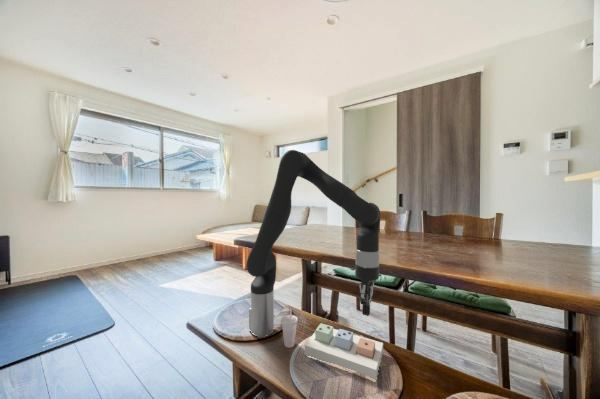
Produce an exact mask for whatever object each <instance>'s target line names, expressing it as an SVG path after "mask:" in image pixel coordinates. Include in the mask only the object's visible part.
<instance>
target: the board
mask: <svg viewBox="0 0 600 399" xmlns="http://www.w3.org/2000/svg"><path fill="white" fill-rule="evenodd" d="M338 331H339V329H338V328H337V329H336V328H333V339H332V340H331V342H330V343H329V344H326V343H322V342H319V341H316V340H315V331H314V333H313V334H312V335H311V336H310V338H309V339H308V340H307V342H306V343H305V344H304V356H305V355H307V356H311V357H314V358H317V359H319V360H322V361H326V362H329V363H333V364H337V365H339V366H342V367H345V368H348V369H351V370H354V371H357V372H360V373H362V374H365V375H367V376H369V377H370V378H373V379H375V380H376V378H377V379H378V377H377V374H378V375H379V373H378V370H379V371H380V369H379V366H380V367H381V364H380V361H381V362H382V360H381V357H382V358H383V356H382V353H383V354H384V342H382V341H377V340H375V339H371V338H369V337H368V338H367V337H364V336H360V335H357V334H354V333H353V346H352V348H351V350H350V351H347V350H344V349H341V348H338V347H335V336H336V334H337V332H338ZM360 338H363V339H366V340H370V341H373V342H375V354H374V357H373V359H371V358H368V357H365V356H362V355H359V354H357V344H358V342H359V340H360Z"/></svg>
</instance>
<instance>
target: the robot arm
mask: <svg viewBox="0 0 600 399" xmlns="http://www.w3.org/2000/svg"><path fill="white" fill-rule="evenodd" d="M298 177H299V178H301V179H304V180H306V181H308V182H309V183H310V184H313V185H314V186H315V187H316V188H317V189H318V190H319V191H320V192H321V193H322V194H323V195H324V196H325V197H326V198H327V199H329V200H330V201H331V202H333V203H334V204H336V205H337V206H339V207H340V208H341V209H343V210H344V211H346V213H347V214H348V215H349V216H350V217H352V218H353V219H354V220H355V221H356V222H358V223H359V225H358V231H357V236H356V250H355V251H356V252H355V271H354V272H355V273H354V275H355V277H356V278H357V279H359V280H360V282H359V292H358V294H357V295H358V299H359V303H360V305H362V315H363V316H366V317H369V316H370V313H371V303H372V299H373V294H374V287H375V282H374V281H377V280H378V279H379V277H380V275H379V274H380V254H379V253H380V252H379V250H380V249H379V244H380V242H379V241H380V238H379V232H380V225H381V224H380V223H381V210H380V208H379V206H378V205H377V204H375V203H373V202H368V201H367V200H365V199H363V198H362V197H360V196H359V195H358V194H357V193H356V191H354V190H353V189H352V188H350V187H348V186H347V185H346V184H345V183H343V182H341V181H339V180H338V179H336V178H335V177H333V176H331V175H330V174H328V173H327V172H326V171H325V170H323V169H322V168H320V167H319V166H318V165H317V164H316V163H315V162H314V161H313V160H312V159H311V158H310V157H309V156H308V155H307V154H305V153H304V152H301V151H298V150H295V149H289V150H287V151H285V152H284V153H283V155H282V157H281V158H280V161H279V165H278V169H277V174H276V179H275V183H274V186H273V189H272V192H271V194H270V197H269V202H268V205H267V206H266V209H265V213H264V216H263V218H262V221H261V224H260V228H259V231H258V233H257V236H256V238H255V242H254V244H253V246H252V248H251V251H250V252H249V255H248V257H247V260H246V269H247V272H248V274H249V275H250V276H252V277H254V279H253V280H252V282H251V283H250V308H248V330H249V329H250V330H251V331H252V333H254V334H255V335H257V336H259V337H258V338H265V337H264V336H266V335H269V334H270V333H271V332H272V331H273V328H275V324H274V323H275V322H274V320H275V318H274V317H275V315H274V314H275V313H274V312H275V311H274V310H275V306H274V305H275V304H274V300H275V299H274V298H275V297H274V295H275V293H274V290H275V289H274V286H275V282H276V278H277V276H276V275H277V258H276V256H275V254H274V252H273V251H272V248H273V246H274V244H275V243H276V242H277V240H278V239H279V237H280V236H281V235H282V233H284V230H285V228H286V226H287V225H288V221H289V218H290V215H291V211H292V192H293V188H294V186H295V184H296V181H297V178H298ZM273 332H274V331H273ZM252 333H251V334H252ZM269 336H270V335H269Z"/></svg>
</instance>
